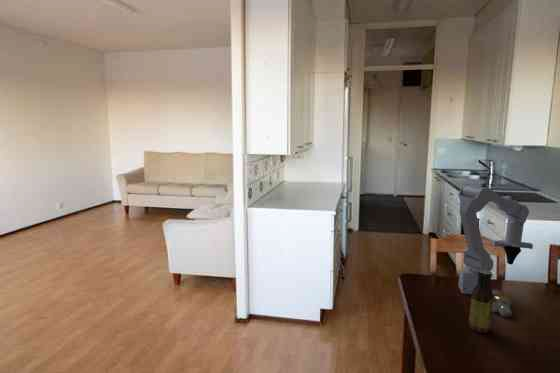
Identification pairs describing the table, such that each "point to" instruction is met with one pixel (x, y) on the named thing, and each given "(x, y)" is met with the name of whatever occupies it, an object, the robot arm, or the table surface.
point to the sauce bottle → (481, 303)
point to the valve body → (500, 305)
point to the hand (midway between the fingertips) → (509, 263)
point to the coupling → (504, 299)
